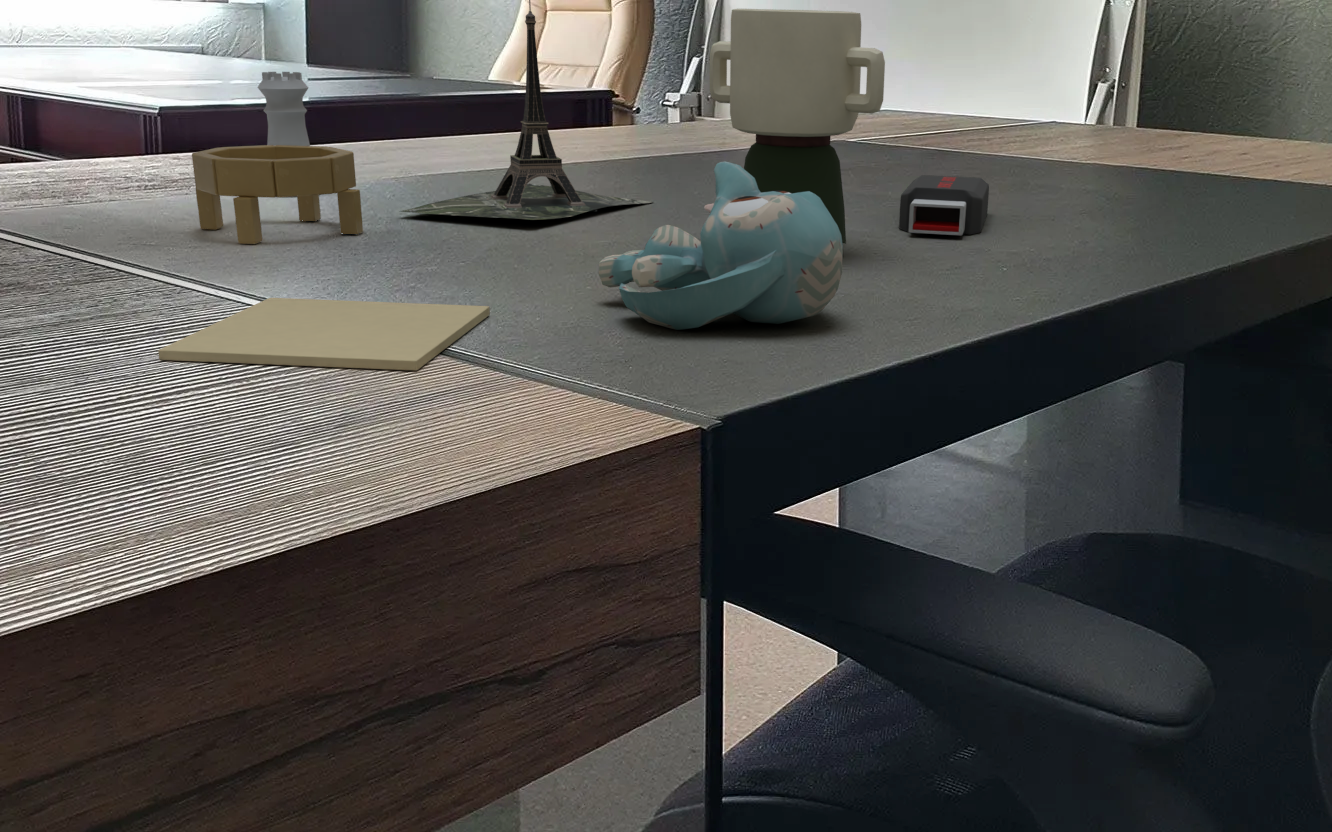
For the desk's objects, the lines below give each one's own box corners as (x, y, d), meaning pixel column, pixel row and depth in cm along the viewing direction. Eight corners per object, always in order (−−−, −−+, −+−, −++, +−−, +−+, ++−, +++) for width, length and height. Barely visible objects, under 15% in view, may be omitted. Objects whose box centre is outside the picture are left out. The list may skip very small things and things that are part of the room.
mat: (158, 360, 53) (157, 349, 53) (270, 306, 62) (269, 297, 62) (417, 370, 52) (416, 360, 52) (490, 314, 62) (489, 306, 61)
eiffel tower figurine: (530, 191, 100) (522, -5, 96) (654, 202, 97) (652, -2, 92) (398, 217, 87) (382, -9, 83) (537, 231, 84) (527, -5, 79)
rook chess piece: (312, 186, 100) (301, 70, 97) (337, 194, 96) (326, 73, 94) (249, 190, 97) (236, 71, 94) (273, 198, 94) (260, 74, 91)
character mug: (904, 254, 79) (916, 13, 75) (844, 273, 73) (854, 12, 69) (743, 234, 84) (745, 8, 80) (675, 250, 78) (674, 6, 74)
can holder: (164, 241, 77) (153, 158, 76) (239, 216, 86) (231, 142, 84) (329, 247, 77) (322, 164, 75) (388, 222, 86) (382, 147, 84)
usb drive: (987, 213, 96) (990, 172, 95) (977, 240, 85) (980, 194, 84) (912, 209, 97) (914, 169, 96) (892, 235, 85) (895, 190, 84)
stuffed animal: (662, 169, 69) (879, 138, 62) (686, 313, 70) (898, 296, 64) (521, 191, 60) (757, 157, 54) (552, 355, 61) (784, 340, 55)
